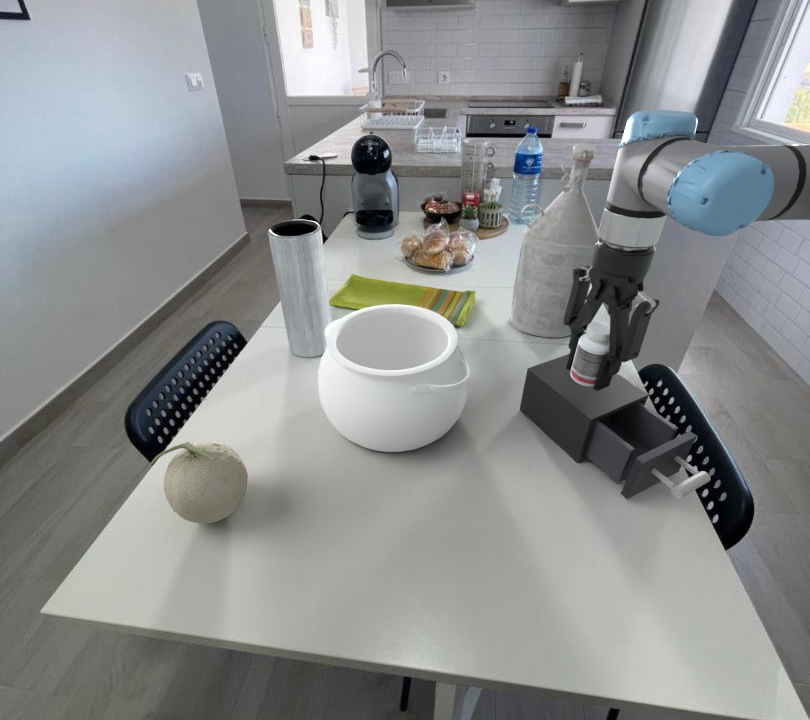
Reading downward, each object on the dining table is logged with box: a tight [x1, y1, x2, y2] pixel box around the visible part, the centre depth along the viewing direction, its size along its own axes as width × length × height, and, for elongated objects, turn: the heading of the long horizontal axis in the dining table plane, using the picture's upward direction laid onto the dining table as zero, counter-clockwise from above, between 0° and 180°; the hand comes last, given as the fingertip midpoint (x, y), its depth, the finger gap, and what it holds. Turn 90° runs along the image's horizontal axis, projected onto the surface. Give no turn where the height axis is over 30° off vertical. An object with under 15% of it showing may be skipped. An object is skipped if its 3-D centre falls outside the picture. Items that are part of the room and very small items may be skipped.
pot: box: [317, 304, 471, 453], centre depth 78 cm, size 29×26×16 cm
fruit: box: [149, 441, 249, 524], centre depth 62 cm, size 10×12×15 cm
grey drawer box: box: [519, 353, 650, 464], centre depth 77 cm, size 15×13×10 cm
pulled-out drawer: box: [583, 402, 711, 500], centre depth 68 cm, size 18×11×8 cm, turn 27°
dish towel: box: [329, 273, 477, 328], centre depth 116 cm, size 15×36×3 cm, turn 71°
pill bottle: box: [570, 321, 610, 387], centre depth 71 cm, size 5×5×10 cm
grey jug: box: [509, 143, 600, 339], centre depth 96 cm, size 13×17×40 cm
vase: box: [267, 219, 333, 358], centre depth 93 cm, size 10×10×27 cm
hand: (587, 376), depth 74 cm, fingers closed on pill bottle, 5 cm apart
